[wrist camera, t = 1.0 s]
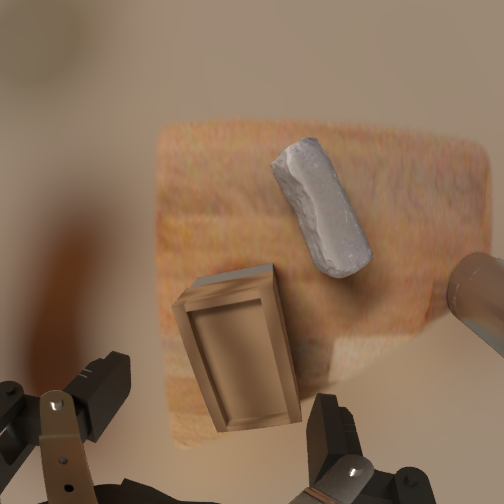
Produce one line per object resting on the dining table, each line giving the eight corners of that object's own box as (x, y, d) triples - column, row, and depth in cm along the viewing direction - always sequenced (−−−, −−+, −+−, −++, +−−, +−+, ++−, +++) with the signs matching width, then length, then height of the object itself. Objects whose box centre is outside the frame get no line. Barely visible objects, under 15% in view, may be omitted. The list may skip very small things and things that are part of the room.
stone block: (352, 244, 34) (380, 267, 25) (312, 262, 35) (327, 292, 25) (307, 143, 32) (322, 127, 23) (266, 161, 33) (264, 152, 23)
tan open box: (272, 270, 32) (272, 287, 27) (299, 393, 35) (302, 421, 30) (186, 288, 33) (171, 306, 28) (223, 404, 36) (217, 432, 30)
